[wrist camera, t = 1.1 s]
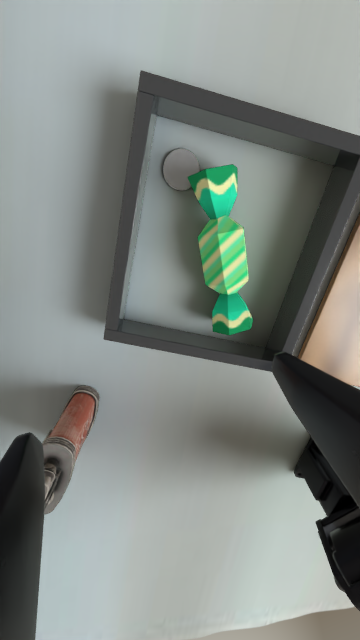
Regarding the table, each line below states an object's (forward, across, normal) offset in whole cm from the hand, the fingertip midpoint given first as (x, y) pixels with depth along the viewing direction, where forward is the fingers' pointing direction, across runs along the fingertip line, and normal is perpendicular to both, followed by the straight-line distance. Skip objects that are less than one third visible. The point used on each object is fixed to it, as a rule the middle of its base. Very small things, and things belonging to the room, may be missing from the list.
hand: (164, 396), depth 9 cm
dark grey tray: (+13, -8, +1) cm, 16 cm away
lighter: (+12, +9, +16) cm, 22 cm away
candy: (+13, -8, +2) cm, 16 cm away
